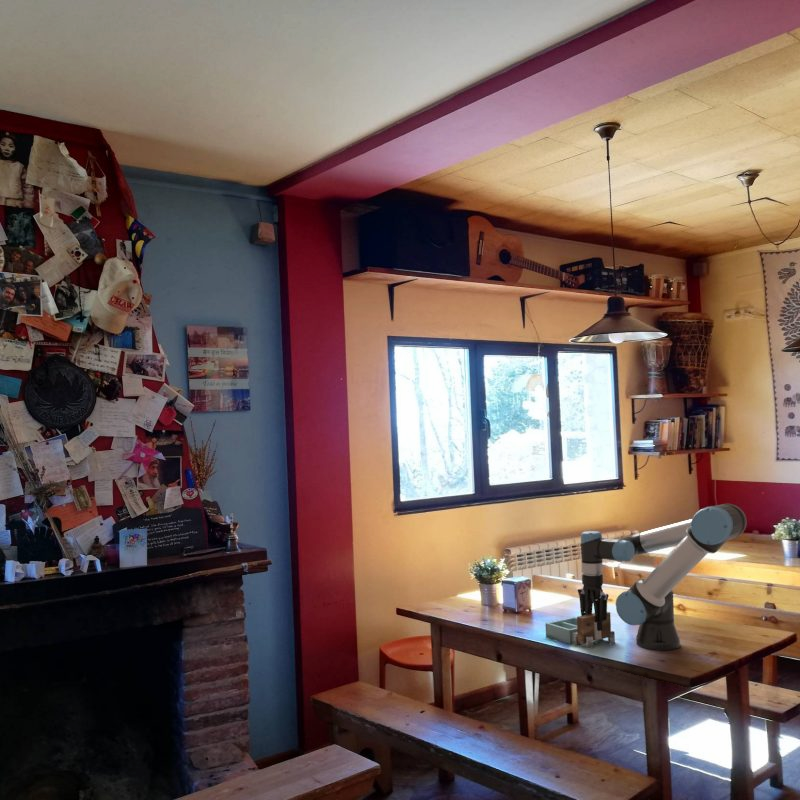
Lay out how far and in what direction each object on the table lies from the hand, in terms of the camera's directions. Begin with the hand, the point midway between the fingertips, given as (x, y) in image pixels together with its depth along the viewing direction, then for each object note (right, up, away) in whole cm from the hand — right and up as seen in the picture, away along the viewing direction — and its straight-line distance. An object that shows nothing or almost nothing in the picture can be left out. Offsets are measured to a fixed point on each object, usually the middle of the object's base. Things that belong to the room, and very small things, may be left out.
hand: (594, 637), depth 290 cm
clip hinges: (0, -2, 0) cm, 2 cm away
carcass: (-6, -2, +10) cm, 11 cm away
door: (0, 0, 0) cm, 0 cm away
